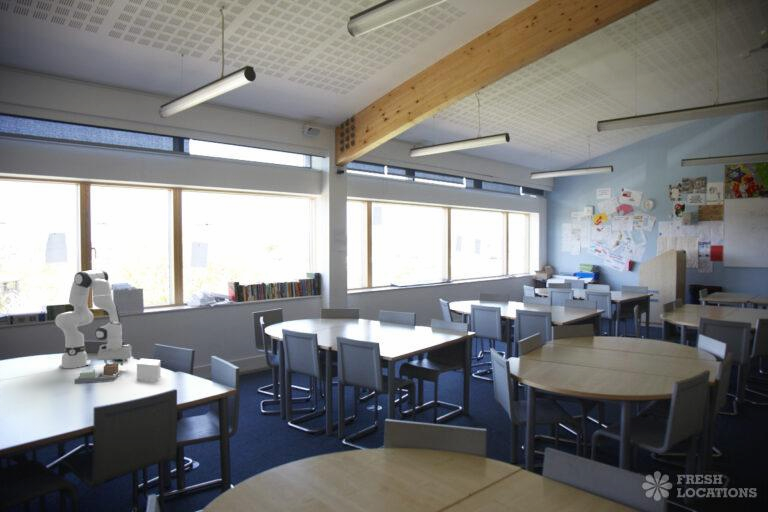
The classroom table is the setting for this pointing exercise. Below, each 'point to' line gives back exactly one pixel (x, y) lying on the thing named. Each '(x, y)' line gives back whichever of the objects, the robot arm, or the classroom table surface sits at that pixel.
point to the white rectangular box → (148, 369)
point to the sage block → (87, 374)
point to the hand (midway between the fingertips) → (114, 365)
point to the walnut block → (110, 369)
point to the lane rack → (96, 378)
